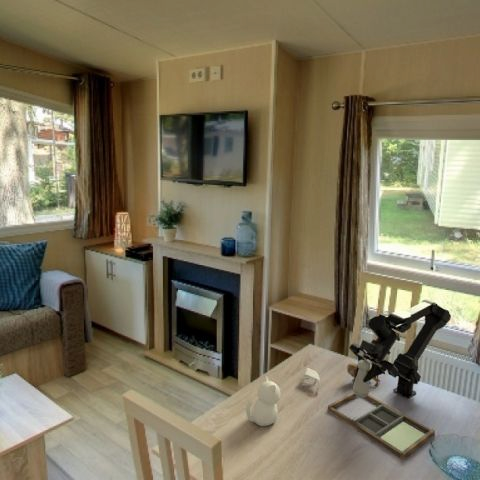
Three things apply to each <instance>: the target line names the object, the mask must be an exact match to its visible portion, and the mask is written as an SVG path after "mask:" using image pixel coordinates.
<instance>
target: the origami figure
mask: <svg viewBox="0 0 480 480" xmlns="http://www.w3.org/2000/svg"><path fill="white" fill-rule="evenodd" d="M306 378H307V379H312V380H314V381H315V383H317V382H318V388H317V389H316V390H315V393H317V392H318V391H319V390H320V389H321V379H320V375H319V374H318V372H317V371H315V370H313V369H311V368H309V367H307V368H306V370H305V373H303V376H302V377H300V378H299V379H298V380H299V381H300V382H302V383H303V384H301V386H306V385H307V383H306V382H305V381H304V379H306Z"/></svg>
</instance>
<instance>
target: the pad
mask: <svg viewBox="0 0 480 480" xmlns="http://www.w3.org/2000/svg"><path fill="white" fill-rule="evenodd" d="M425 434H426V433H425V432H423V431H421V430H420V429H419V430H418V428H417V429H416V428H415V427H414V426H413V425H412V426H411V424H409V423H407V422H406V421H402V422H400V423H399V424H397V425H396V426H394V427H393V428H391V429H390V430H388V431H387V432H385V433H384V434H382V435H381V436H379V438H381V439H383V440H384V441H386V442H387V443H389V444H390V445H392V446H393V447H395V448H397V449H398V450H400V451H401V452H402V451H404V450H405V449H406V448H408V447H409V446H410V445H412V444H413V443H414V442H416V441H417V440H418V439H420V438H421V437H422V436H424V435H425Z"/></svg>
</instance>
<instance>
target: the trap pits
mask: <svg viewBox="0 0 480 480" xmlns="http://www.w3.org/2000/svg"><path fill="white" fill-rule="evenodd" d="M353 421H354V422H356V423H358V424H359V425H361V426H362V427H364V428H365V429H367V430H368V431H370V432H372V433H373V434H375V435H376V436H378V437H379V438H380V437H381V436H382V435H384V434H385V433H387V432H388V431H390V430H391V429H393V428H394V427H396V426H397V425H399V424H400V423H402V422H404V416H402V415H401V414H399V413H397V412H395V411H393V410H392V409H390V408H388V407H386V406H385V405H383V404H381V405H380V406H378V405H377V406H376V407H375V408H372V409H371V410H370V411H367V412H366V413H365V414H363V415H361V416H360V417H358V418H356V419H355V420H353Z"/></svg>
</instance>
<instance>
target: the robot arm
mask: <svg viewBox="0 0 480 480" xmlns="http://www.w3.org/2000/svg"><path fill="white" fill-rule="evenodd" d="M423 317H424V324H423V325H422V327H421V329H420V330H419V332H418V333H417V335H416V336H415V338H414V340H413V342H412V343H411V345H410V346H409V347H408V349H407V351H406V352H405V353H404V352H403V353H401V352H399V354H397V356H396V358H395V359H394V360H393V363H391V361H388V360H386V359H385V358H386V356H387V355H390V354H391V351H390V350H391V349H392V347H393V345H394V344H395V343H396V341H397V342H401V337H400V333H402V334H404V333H406V332H407V331H408V330H409V329H411V328H412V324H413V323H415V322H416V321H418V320H420V319H423ZM451 319H452V315H451V313H450V311H449V310H448V309H445V308H443V307H441V306H440V305H439V304H437V303H436V302H434V301H431V300H429V299H423V300H422V301H421V302H420V303H418V304H416V305H414V306H412V307H410V308H408V309H406V310H404V311H400V310H398V311H393V312H391V313H389V314H388V315H385V314H382V313H380V314H379V315H376V316H374V317H372V318H370V319H369V320H368V327H369V329H370V330H371V331H372V333H374V335H375V336H376V337H377V338H376V339H372V340H371V341H368V340H366V339H362V340H361V343H360V345H358V344H356V343H354V342H353V343H351V344H350V345H349V347H348V349H349V350H350V352H351V353H352V354H354V356H356V357H357V362H358V361H360V360H366V361H368V360H369V361H370V362H371V365H370V368H371V369H370V370H369V372H368V373H367V375H366V376H365V378H364V380H363V382H367V381H369V380H370V379H371V380H373V379H372V378H374V377H376V378H377V376H378V377H379V376H381V375H386V371H387V374H388V376H391V377H393V378H394V379H396V378H397V377H398V378H397V384H396V385H397V386H396V387H395V388H393V389H392V391H393V392H394V393H395V394H398V395H400V396H403V397H404V398H406V399H409V398H411V397H412V396H414V395H416V394H417V391H415V390H414V385H418V384H419V382H420V381H421V378H422V377H421V375H420V374H419V372H418V371H419V360H420V358H421V356H422V355H423V353H424V352H425V350H426V349H427V347H428V345H429V343H430V342H431V340H432V338H433V337H434V336H435V334H436V332H437V331H439V330H441V329H443V328H445V327H446V325H447V324H448V323H449V322H450V321H451ZM398 332H399V333H398ZM358 370H359V368H358V366H357V369H356V373H355V377H356V376H357V373H358ZM371 380H370V381H371ZM370 381H369V382H370Z"/></svg>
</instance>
